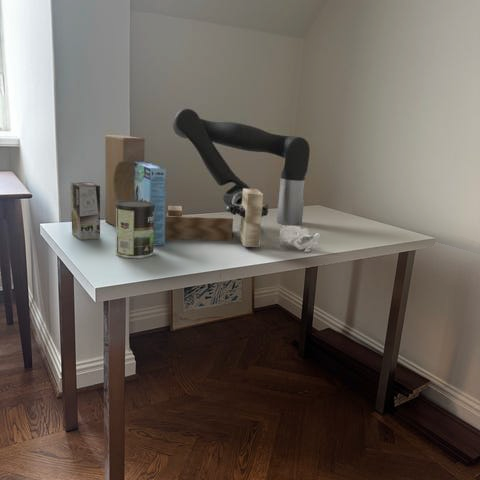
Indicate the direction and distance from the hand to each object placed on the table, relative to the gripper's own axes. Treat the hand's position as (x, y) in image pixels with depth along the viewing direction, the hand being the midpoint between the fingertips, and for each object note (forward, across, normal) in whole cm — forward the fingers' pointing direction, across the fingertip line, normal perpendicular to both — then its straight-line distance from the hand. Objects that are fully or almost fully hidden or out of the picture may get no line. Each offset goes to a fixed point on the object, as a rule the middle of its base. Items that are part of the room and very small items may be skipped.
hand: (252, 214), depth 140 cm
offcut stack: (-17, -23, +11) cm, 30 cm away
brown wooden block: (-17, -16, +11) cm, 25 cm away
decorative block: (-26, -40, +11) cm, 49 cm away
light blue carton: (-10, -31, +11) cm, 34 cm away
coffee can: (+8, -34, +11) cm, 37 cm away
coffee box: (-9, -50, +11) cm, 52 cm away
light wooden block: (-3, 0, +10) cm, 10 cm away
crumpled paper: (-1, +15, +11) cm, 19 cm away
